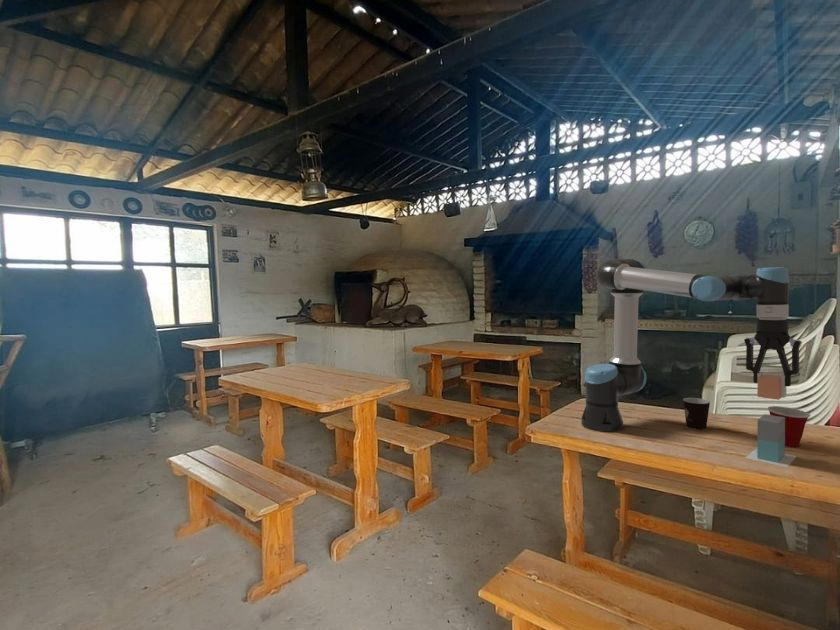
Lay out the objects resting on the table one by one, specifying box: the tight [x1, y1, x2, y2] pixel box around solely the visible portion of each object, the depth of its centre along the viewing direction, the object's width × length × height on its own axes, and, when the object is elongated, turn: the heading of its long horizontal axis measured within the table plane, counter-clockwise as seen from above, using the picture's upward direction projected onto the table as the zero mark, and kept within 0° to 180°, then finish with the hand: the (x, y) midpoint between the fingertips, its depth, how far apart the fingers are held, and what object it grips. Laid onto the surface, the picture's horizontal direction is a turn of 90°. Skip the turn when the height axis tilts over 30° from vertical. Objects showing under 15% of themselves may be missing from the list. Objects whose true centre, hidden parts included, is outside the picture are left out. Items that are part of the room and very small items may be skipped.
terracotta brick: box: [757, 373, 783, 401], centre depth 133 cm, size 5×8×6 cm, turn 129°
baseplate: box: [745, 447, 797, 468], centre depth 135 cm, size 10×12×1 cm
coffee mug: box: [682, 397, 711, 430], centre depth 168 cm, size 12×9×10 cm
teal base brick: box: [756, 437, 786, 463], centre depth 134 cm, size 5×8×6 cm, turn 129°
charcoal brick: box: [757, 414, 785, 443], centre depth 134 cm, size 5×8×6 cm, turn 130°
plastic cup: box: [767, 405, 812, 448], centre depth 144 cm, size 11×11×12 cm
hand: (771, 395), depth 133 cm, fingers closed on terracotta brick, 5 cm apart
